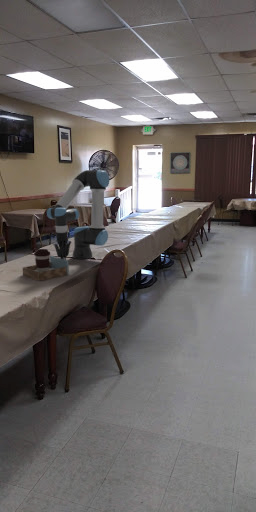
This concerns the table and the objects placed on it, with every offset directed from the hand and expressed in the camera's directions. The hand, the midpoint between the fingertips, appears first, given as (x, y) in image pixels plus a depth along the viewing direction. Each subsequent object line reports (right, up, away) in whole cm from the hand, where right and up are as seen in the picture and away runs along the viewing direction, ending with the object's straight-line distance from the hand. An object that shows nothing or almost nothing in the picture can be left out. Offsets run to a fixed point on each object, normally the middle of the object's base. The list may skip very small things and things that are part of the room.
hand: (63, 266), depth 259 cm
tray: (-9, -5, -8) cm, 13 cm away
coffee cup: (-11, -4, -10) cm, 16 cm away
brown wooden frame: (-11, -5, -10) cm, 15 cm away
